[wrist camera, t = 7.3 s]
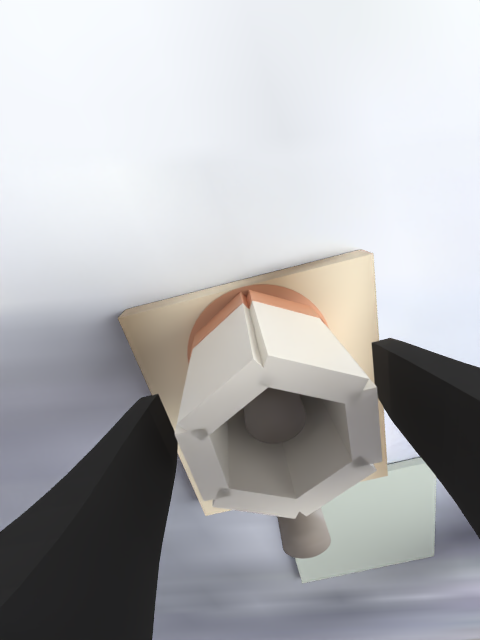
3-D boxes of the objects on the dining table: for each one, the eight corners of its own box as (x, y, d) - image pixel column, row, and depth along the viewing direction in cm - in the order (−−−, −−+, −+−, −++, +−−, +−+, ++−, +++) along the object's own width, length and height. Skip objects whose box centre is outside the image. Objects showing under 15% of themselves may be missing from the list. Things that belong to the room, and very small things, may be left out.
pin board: (361, 249, 12) (450, 280, 7) (378, 460, 16) (439, 562, 12) (125, 309, 12) (66, 375, 8) (206, 498, 17) (200, 611, 12)
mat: (431, 454, 16) (436, 460, 16) (430, 549, 20) (434, 556, 20) (276, 489, 17) (277, 495, 16) (300, 576, 20) (302, 583, 20)
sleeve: (350, 348, 12) (427, 438, 8) (252, 425, 14) (267, 542, 9) (271, 263, 11) (307, 311, 6) (168, 359, 12) (135, 459, 7)
